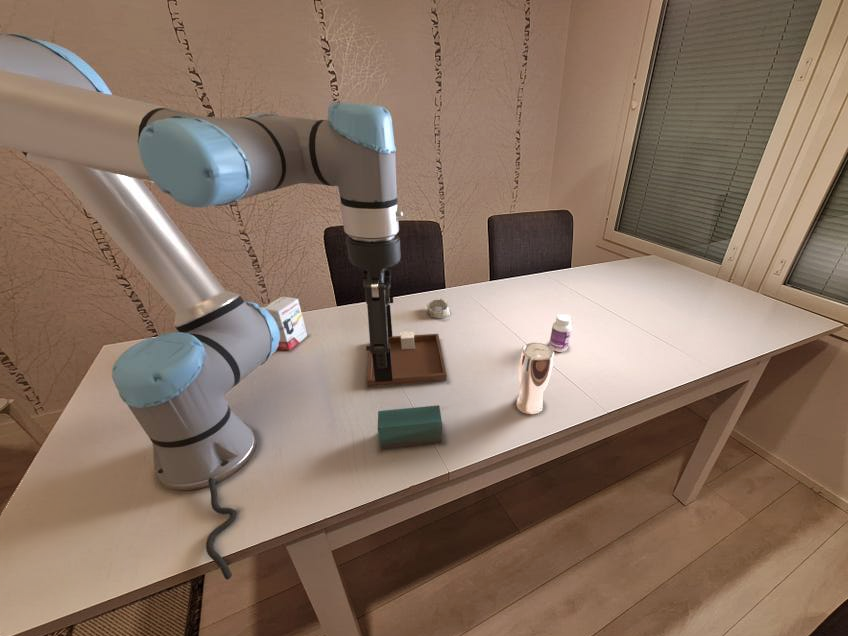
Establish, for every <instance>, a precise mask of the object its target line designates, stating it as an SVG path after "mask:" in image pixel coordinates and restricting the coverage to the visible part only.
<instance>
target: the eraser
mask: <svg viewBox="0 0 848 636" xmlns="http://www.w3.org/2000/svg"><path fill="white" fill-rule="evenodd" d="M441 413H442V412H441V407H440V405H427V406H418V407H417V406H416V407H406V408H395V409H385V410H378V411H377V435H378V441H379V447H380V451H386V450H387V451H388V450H396V449H405V448H411V447H412V448H413V447H421V446H430V445H439V444H443V419H442V414H441Z"/></svg>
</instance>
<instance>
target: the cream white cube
mask: <svg viewBox="0 0 848 636" xmlns="http://www.w3.org/2000/svg"><path fill="white" fill-rule="evenodd" d="M414 335H415V332H414V331H412V330H411V331H400V336H401V347H402V349H415V345H414Z"/></svg>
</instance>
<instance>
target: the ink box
mask: <svg viewBox="0 0 848 636" xmlns="http://www.w3.org/2000/svg"><path fill="white" fill-rule="evenodd" d="M299 301H300V300H299V299H298V298H297V297H296V298H295V297H289V296H280V297H278V298H276V299H275V300H273V301H272V302H270V303H268V304H267V305H265V306H262V307H263V308H265V309H266V310H267V311H268V312H269V313H270V314H271V315H272V317H273V318H274V320H275V322H276V324H277V326H278V329H279V333H280V341H279V346H278V348H277V350H281V351H288V352H290V351H292V349H294V348H295V347H296V346H297V345H299V344H300V343H301V342H302V341H303V340H304V339H306V338H307V337H308V333H307V329H306V325H305V321H304V317H303V313H302V310H301V309H302V308H301V306H300V302H299Z"/></svg>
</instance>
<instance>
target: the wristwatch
mask: <svg viewBox="0 0 848 636" xmlns="http://www.w3.org/2000/svg"><path fill="white" fill-rule="evenodd" d="M426 307H427V310H428V313H429V315H430V316H431V317H432V318H437V319H444V318H447V317H448V316H450V314H451V311H450V308H449V304H448V302H447V300H445V299H443V298H439V299H433V300H431V301H430V302H428V304H427V305H426ZM436 308H441V309H442V310H441V311H435V310H434V309H436Z"/></svg>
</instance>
